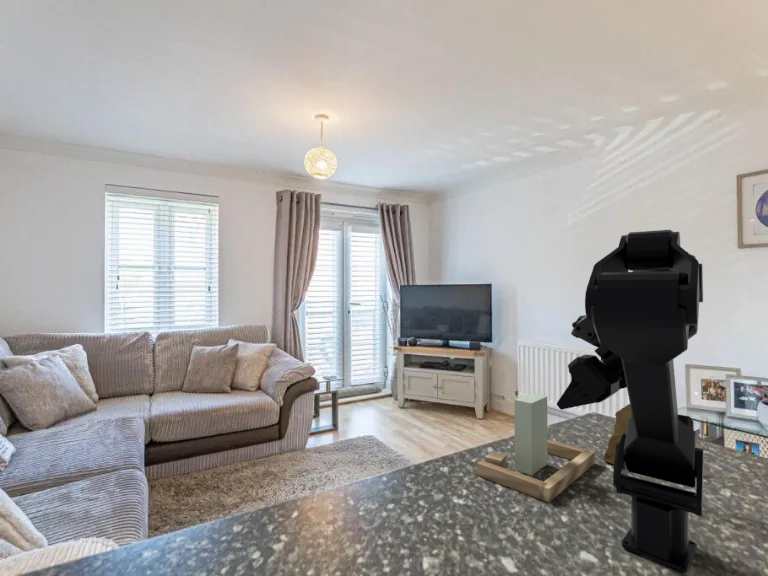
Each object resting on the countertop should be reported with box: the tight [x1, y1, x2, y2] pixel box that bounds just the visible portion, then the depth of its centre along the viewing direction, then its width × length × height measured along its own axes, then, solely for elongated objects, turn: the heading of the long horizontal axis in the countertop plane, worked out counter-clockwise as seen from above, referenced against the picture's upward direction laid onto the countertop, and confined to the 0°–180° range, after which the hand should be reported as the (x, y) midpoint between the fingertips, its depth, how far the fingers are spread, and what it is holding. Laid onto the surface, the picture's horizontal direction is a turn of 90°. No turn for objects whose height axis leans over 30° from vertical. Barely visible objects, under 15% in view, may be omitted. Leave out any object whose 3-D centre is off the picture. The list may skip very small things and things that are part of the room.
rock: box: [602, 403, 631, 465], centre depth 76 cm, size 11×9×10 cm
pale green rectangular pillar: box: [514, 392, 548, 476], centre depth 72 cm, size 6×3×12 cm, turn 134°
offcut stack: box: [484, 450, 511, 470], centre depth 71 cm, size 4×3×2 cm
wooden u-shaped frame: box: [476, 438, 596, 503], centre depth 71 cm, size 18×12×2 cm, turn 134°
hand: (571, 401), depth 67 cm, fingers open, 9 cm apart
